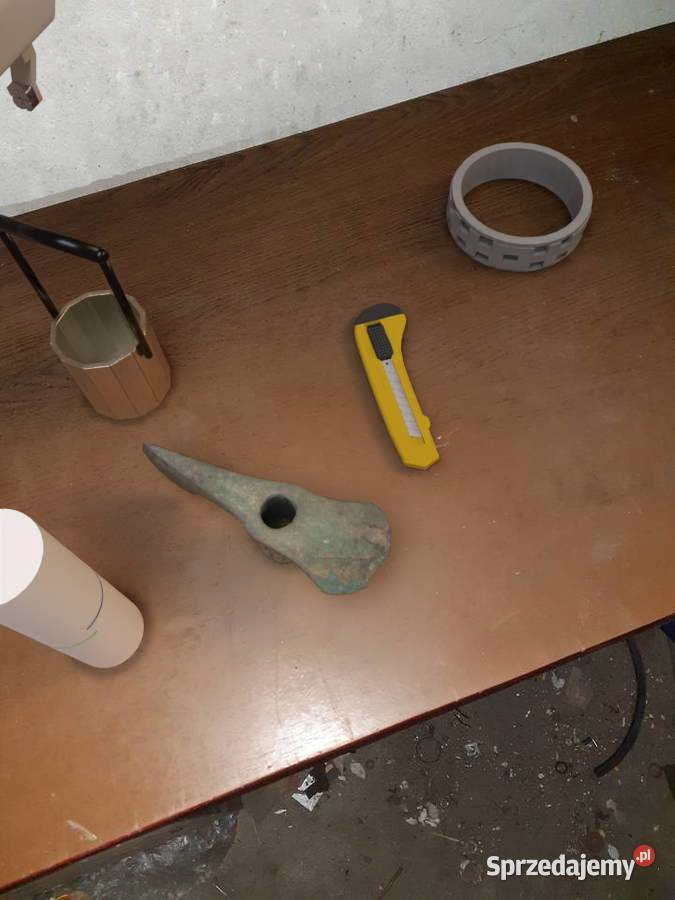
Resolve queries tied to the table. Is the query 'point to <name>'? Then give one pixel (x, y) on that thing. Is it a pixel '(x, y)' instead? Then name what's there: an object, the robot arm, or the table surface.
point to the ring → (524, 165)
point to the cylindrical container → (62, 597)
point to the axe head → (291, 521)
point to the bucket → (99, 332)
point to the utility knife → (394, 384)
